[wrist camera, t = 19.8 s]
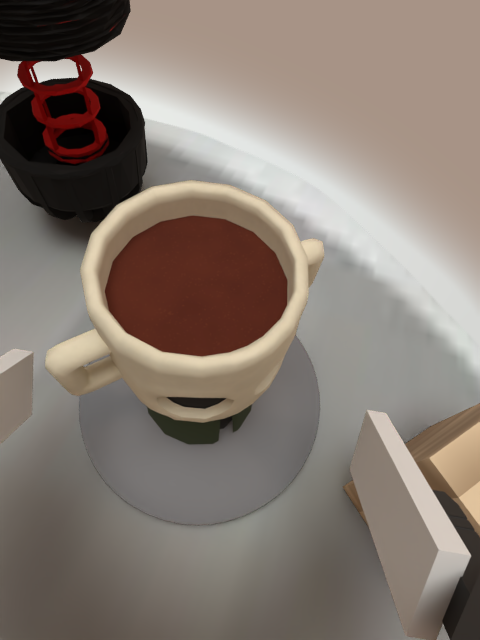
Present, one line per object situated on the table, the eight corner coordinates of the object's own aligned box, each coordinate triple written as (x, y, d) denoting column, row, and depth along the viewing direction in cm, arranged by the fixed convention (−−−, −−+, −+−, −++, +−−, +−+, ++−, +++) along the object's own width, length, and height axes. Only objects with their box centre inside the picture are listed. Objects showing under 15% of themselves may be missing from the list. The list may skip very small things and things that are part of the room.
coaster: (50, 355, 25) (44, 347, 24) (242, 270, 30) (243, 260, 29) (145, 582, 20) (141, 585, 19) (360, 441, 25) (367, 437, 24)
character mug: (137, 499, 21) (58, 459, 10) (88, 382, 24) (-20, 240, 12) (309, 401, 24) (406, 284, 13) (249, 308, 27) (285, 140, 15)
